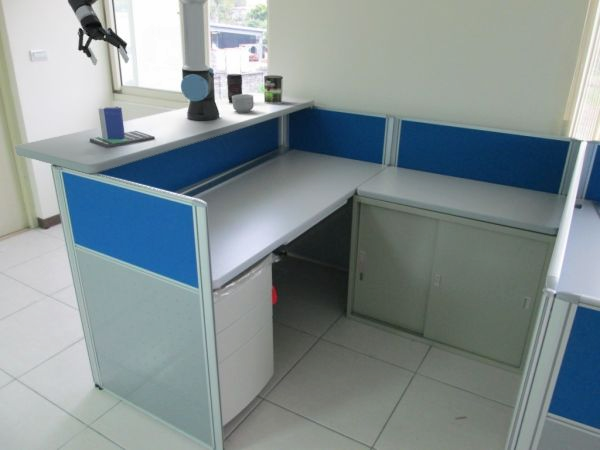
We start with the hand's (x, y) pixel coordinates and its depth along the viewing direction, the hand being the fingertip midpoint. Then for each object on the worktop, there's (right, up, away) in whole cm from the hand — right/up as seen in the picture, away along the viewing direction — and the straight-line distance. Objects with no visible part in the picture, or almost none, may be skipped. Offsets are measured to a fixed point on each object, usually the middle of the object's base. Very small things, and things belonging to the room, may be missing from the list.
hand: (111, 62), depth 203 cm
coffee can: (+61, +3, +79) cm, 100 cm away
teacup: (+47, -7, +55) cm, 73 cm away
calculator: (+6, -32, -5) cm, 33 cm away
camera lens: (+40, +2, +77) cm, 87 cm away
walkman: (+4, -32, -8) cm, 33 cm away
